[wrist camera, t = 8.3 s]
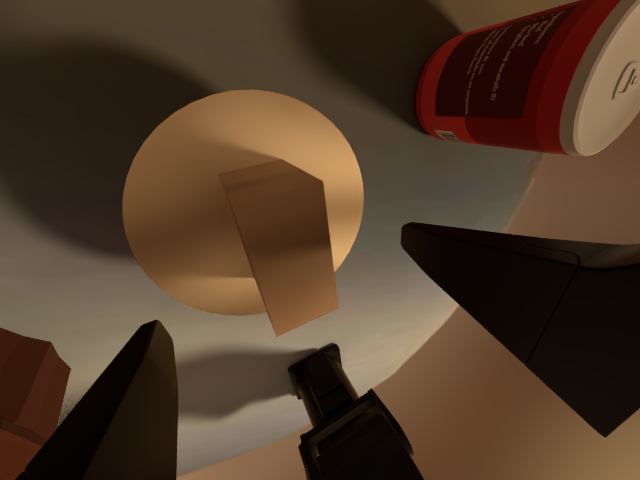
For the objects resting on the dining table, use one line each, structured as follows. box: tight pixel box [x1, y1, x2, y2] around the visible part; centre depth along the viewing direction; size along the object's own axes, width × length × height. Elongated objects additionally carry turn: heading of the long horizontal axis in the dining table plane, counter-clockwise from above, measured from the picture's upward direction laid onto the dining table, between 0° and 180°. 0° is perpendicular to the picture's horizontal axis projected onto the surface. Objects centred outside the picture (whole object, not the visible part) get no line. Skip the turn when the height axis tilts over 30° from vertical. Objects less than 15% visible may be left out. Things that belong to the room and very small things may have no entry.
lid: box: [122, 90, 364, 337], centre depth 11 cm, size 12×12×6 cm
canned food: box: [416, 0, 640, 156], centre depth 17 cm, size 8×8×11 cm
